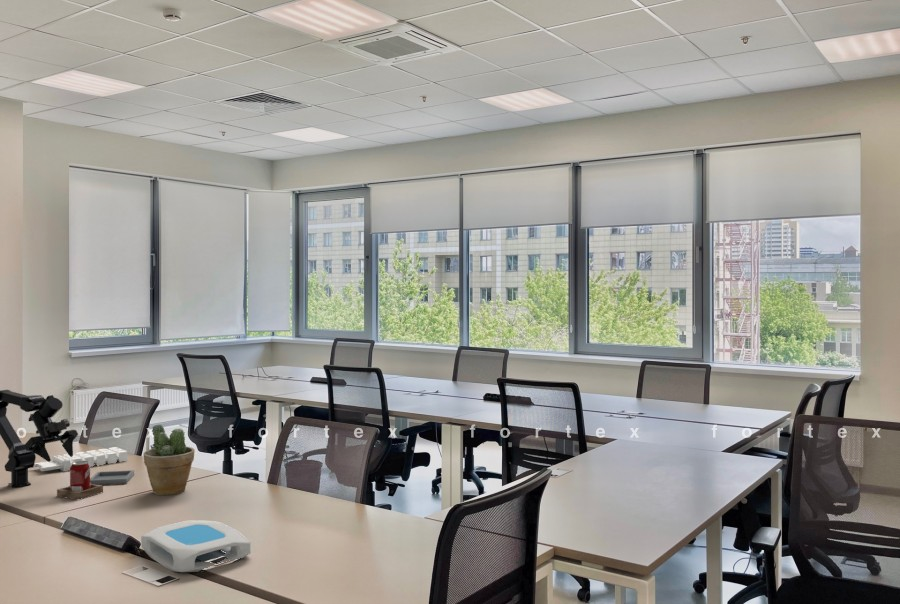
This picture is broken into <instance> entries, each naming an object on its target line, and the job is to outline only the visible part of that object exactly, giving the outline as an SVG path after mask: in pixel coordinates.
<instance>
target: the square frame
mask: <svg viewBox="0 0 900 604" xmlns="http://www.w3.org/2000/svg"><path fill="white" fill-rule="evenodd" d="M101 492H102V493H104V485H95V484H90V489H87V490H84V491H80V492H75V491H70V485H68V486H66V487H61V488H57V489H56V497H58V496H61V497H60V498H64V497H67V498H66V499H70V498H72V499H71V500H76V499H79V500H82V499H81V498H83V499H86V498H89V497H92V496H95V495H94V494H96V495H98V494H97V493H99V494H102V493H101ZM91 495H92V496H91ZM88 496H89V497H88ZM85 497H86V498H85Z"/></svg>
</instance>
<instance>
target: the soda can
mask: <svg viewBox="0 0 900 604" xmlns="http://www.w3.org/2000/svg"><path fill="white" fill-rule="evenodd" d="M90 479H91V467H90V465H89V464H88V461H77V462H73V463H72V466H71V467H70V471H69V486H70V491H75V492H80V491H84V490H87V489H90Z"/></svg>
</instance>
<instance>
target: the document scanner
mask: <svg viewBox="0 0 900 604" xmlns="http://www.w3.org/2000/svg"><path fill="white" fill-rule="evenodd" d="M140 537H141V538H140V540H141V541H140V542H141V548H142V549H143V551H144V552H145V554H147V555H148V557H149V558H151V559H152V560H154V561H155V562H157V563H159V564H160V565H161V566H163V567H164V568H166V569H168V570H169V571H172V572H175V573H176V572H178V573H179V572H180V573H198V572H199V571H200V570H202V569H204V568H208V567H210V566H213V565H214V564H216V563H210V562H202V561H203V560H200V561H201V562H200V561H197V562H196V559H197V557H198V556H201V555H204V554H207V553H212V552H214V551H219V549H220V550H222V551H224V552H226V553H225V554H224V553H223V554H222V555H223V556H225V557H227V558H228V559H226V558H225V559H224V560H222V561H220V562H226V561H228V562H229V560H235V559H239V558H241V559H243V558H246V557H247V556H248V555H250V554H251V551H252V550H251V549H252V548H251V547H252V545H251V541H250V540H249V539H248V538H247V537H246V536H244V535H243V533H241V532H240V531H239V530H237V529H235V528H233V527H231V526H230V525H226V524H225V523H223V522H221V521H214V520H204V519H203V520H202V519H200V520H198V519H197V520H195V519H192V520H191V519H187V520H183V521H179V522H175V523H170V524H165V525H162V526H159V527H156V528H155V529H153V530H150V531H148V532H147V533H144V534H142V535H141V536H140ZM220 562H217V563H220Z"/></svg>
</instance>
